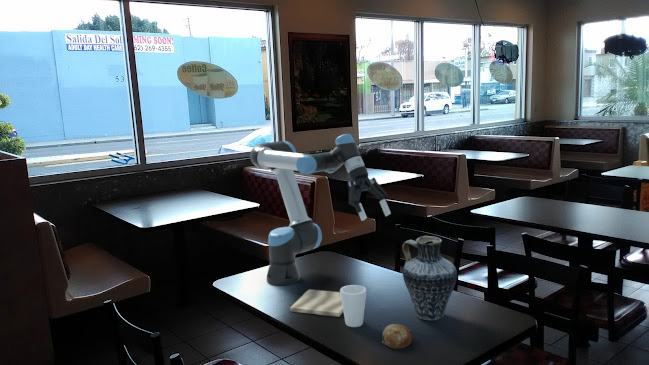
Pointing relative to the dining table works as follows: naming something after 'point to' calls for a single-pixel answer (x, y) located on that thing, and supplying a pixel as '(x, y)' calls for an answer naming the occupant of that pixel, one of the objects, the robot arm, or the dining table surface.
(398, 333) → the bread roll
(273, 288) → the dining table surface
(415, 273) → the jug
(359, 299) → the foam cup
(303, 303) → the serving board
